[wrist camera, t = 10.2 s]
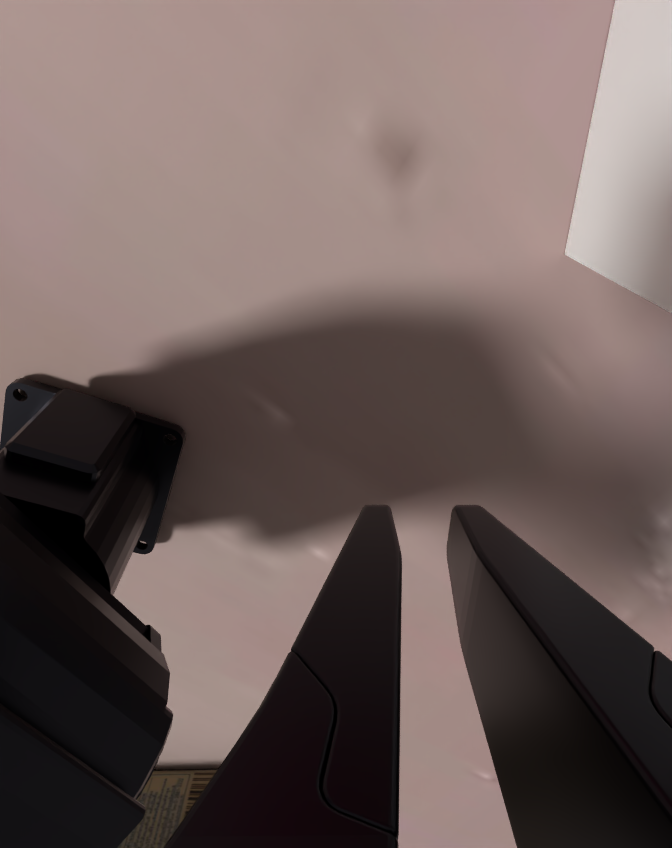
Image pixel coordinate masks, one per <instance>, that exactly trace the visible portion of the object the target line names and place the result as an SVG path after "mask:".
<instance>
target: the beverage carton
mask: <svg viewBox="0 0 672 848" xmlns="http://www.w3.org/2000/svg"><path fill="white" fill-rule="evenodd" d="M216 771H217V770H171V771H153V773H152V775H151V777H150V779H149V781H148V783H147V784H146V786H145V788H144V789H143V791H142V793H141V795H140V796H139V797H138V799H137V801H138V802H140V803H141V804H143V805H144V806H145V809H146V811H145V815H144V817H143V819H142V820H141V822H140V823H139V824H138V825H137V826H136V827H135V828H134V830H133V831H132V832H131V833H130V834H129V835H128V836H127V837H126V838H125V839H124V840H123V842H122V843H121V844H120V845H119V846H118V847H117V848H163V847H164V846H165V844H166V843H167V842H168V840H169V839H170V838H171V836H172V835H173V833H174V832H175V830H176V829H177V828H178V826H179V825H180V823H181V822H182V820H183V819H184V817H185V816H186V815H187V813H188V812H189V810H190V809H191V807H192V806H193V804H194V803H195V802H196V800H197V799H198V797H199V796H200V794H201V793H202V792H203V790H204V789H205V787H206V786H207V784H208V783H209V781H210V780H211V779H212V777H213V776H214V774H215V773H216Z"/></svg>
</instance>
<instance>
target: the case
mask: <svg viewBox="0 0 672 848" xmlns="http://www.w3.org/2000/svg"><path fill="white" fill-rule="evenodd" d="M565 255H566V256H568V257H570V258H572V259H574V260H575V261H577V262H579V263H581V264H583V265H585V266H586V267H588V268H590V269H592V270H594V271H595V272H597V273H599V274H601V275H603V276H604V277H606V278H608V279H610V280H612V281H614V282H615V283H617V284H619V285H621V286H623V287H624V288H626V289H628V290H630V291H632V292H633V293H635V294H637V295H639V296H641V297H643V298H644V299H646V300H648V301H650V302H652V303H653V304H655V305H657V306H659V307H661V308H663V309H664V310H666V311H668V312H670V313H672V0H615V5H614V10H613V15H612V20H611V25H610V30H609V35H608V40H607V45H606V50H605V55H604V60H603V65H602V70H601V75H600V80H599V85H598V90H597V95H596V100H595V105H594V110H593V115H592V120H591V125H590V130H589V135H588V140H587V145H586V150H585V155H584V160H583V165H582V170H581V175H580V180H579V185H578V190H577V195H576V200H575V205H574V210H573V215H572V220H571V225H570V230H569V235H568V240H567V245H566V250H565Z"/></svg>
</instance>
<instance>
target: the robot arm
mask: <svg viewBox="0 0 672 848" xmlns="http://www.w3.org/2000/svg"><path fill="white" fill-rule="evenodd" d="M18 389H22V390H24V391H25V392H26V394H27V397H25V396H23V395H21V394H20V393H19V391H18ZM167 434H172V435H173V436H175V438H176V440H170V439H168V438H167V437H166V435H167ZM184 441H185V432H184V430H183V429H182V428H181V427H180V426H178V425H176V424H173V423H170V422H167V421H163V420H160V419H157V418H154V417H150V416H147V415H144V414H140V413H137V412H134V411H133V410H132V409H131V408H129V407H126V406H122V405H119V404H116V403H113V402H109V401H106V400H103V399H100V398H96V397H93V396H90V395H86V394H83V393H80V392H77V391H73V390H70V389H63V390H62V389H58V388H55V387H52V386H49V385H45V384H42V383H39V382H35V381H32V380H29V379H24V378H20V379H16V380H15V381H14V382H12V383H11V384H10V385H9V386H8V387H7V389H6V393H5V403H4V413H3V423H2V433H1V442H0V848H117V847H118V846H119V845H120V844H121V843H122V842H123V840H124V839H125V838H126V837H127V836H128V835H129V834H130V833H131V832H132V831H133V830H134V828H135V827H136V826H137V825H138V824H139V823H140V822H141V820H142V819H143V817H144V815H145V811H146V809H145V806H144V805H143V804H141V803H140V802H138V801H137V799H138V797H139V796H140V795H141V793H142V791H143V789H144V788H145V786H146V784H147V783H148V781H149V779H150V777H151V775H152V773H153V771H154V768H155V766H156V764H157V761H158V759H159V756H160V754H161V753H162V751H163V748H164V745H165V742H166V740H167V737H168V734H169V731H170V728H171V725H172V719H173V713H172V711H171V710H170V709H169V708H167V707H166V705H167V700H168V689H169V677H170V672H169V669H168V666H167V663H166V660H165V657H164V654H163V653H162V652H161V635H160V634H159V633H158V632H157V631H156V630H155V629H154V628H153V627H152V626H150V625H146V626H145V625H144V624H143V623H142V622H141V621H140V620H139V619H138V618H137V617H136V616H135V615H133V614H132V613H131V612H130V611H129V610H128V609H127V608H126V607H125V606H124V605H123V604H122V603H120V602H119V601H118V600H117V599H116V598H115V597H114V596H113V594H114V592H115V590H116V588H117V586H118V583H119V581H120V579H121V577H122V574H123V572H124V570H125V568H126V566H127V563H128V561H129V559H130V557H131V555H132V552H135V553H139V554H148V553H150V552H151V551H152V550H153V548H154V546H155V543H156V540H157V537H158V533H159V529H160V526H161V522H162V519H163V515H164V512H165V508H166V505H167V501H168V498H169V494H170V491H171V487H172V483H173V480H174V476H175V473H176V469H177V466H178V462H179V459H180V455H181V452H182V448H183V444H184ZM140 541H145V542H146V543H147V544H145V543H141V542H140ZM447 562H448V568H449V574H450V581H451V587H452V594H453V600H454V606H455V613H456V619H457V625H458V632H459V637H460V643H461V648H462V652H463V656H464V660H465V664H466V668H467V671H468V675H469V678H470V682H471V685H472V689H473V692H474V696H475V700H476V703H477V707H478V710H479V714H480V717H481V721H482V724H483V728H484V732H485V735H486V739H487V742H488V746H489V749H490V753H491V756H492V760H493V764H494V767H495V771H496V774H497V778H498V781H499V785H500V788H501V792H502V796H503V799H504V803H505V806H506V810H507V813H508V817H509V820H510V824H511V827H512V831H513V835H514V838H515V842H516V845H517V848H672V661H671V660H670V659H669V658H667V657H666V656H665V655H664V654H662V653H661V652H660V651H655V652H654V647H653V646H652V645H651V644H650V643H649V642H647V641H646V640H645V639H644V638H642V637H641V636H640V635H639V634H637V633H636V632H635V631H634V630H633V629H631V628H630V627H629V626H628V625H626V624H625V623H624V622H623V621H622V620H620V619H619V618H618V617H617V616H615V615H614V614H613V613H612V612H610V611H609V610H608V609H607V608H606V607H604V606H603V605H602V604H601V603H599V602H598V601H597V600H596V599H595V598H593V597H592V596H591V595H590V594H588V593H587V592H586V591H585V590H583V589H582V588H581V587H580V586H579V585H577V584H576V583H575V582H574V581H572V580H571V579H570V578H569V577H567V576H566V575H565V574H564V573H563V572H561V571H560V570H559V569H558V568H556V567H555V566H554V565H553V564H552V563H550V562H549V561H548V560H547V559H545V558H544V557H543V556H542V555H540V554H539V553H538V552H537V551H536V550H534V549H533V548H532V547H531V546H529V545H528V544H527V543H526V542H524V541H523V540H522V539H521V538H520V537H518V536H517V535H516V534H515V533H513V532H512V531H511V530H510V529H509V528H507V527H506V526H505V525H504V524H502V523H501V522H500V521H499V520H497V519H496V518H495V517H494V516H493V515H491V514H490V513H489V512H488V511H486V510H485V509H484V508H483V507H481V506H479V505H456V506H455V507H454V508H453V509H452V513H451V520H450V527H449V534H448V541H447ZM401 593H402V558H401V551H400V546H399V541H398V537H397V533H396V529H395V524H394V520H393V516H392V512H391V508H390V507H389V506H388V505H365V506H364V507H363V509H362V510H361V512H360V514H359V516H358V518H357V520H356V522H355V524H354V526H353V528H352V530H351V532H350V534H349V536H348V538H347V540H346V542H345V544H344V546H343V548H342V550H341V552H340V554H339V556H338V558H337V560H336V562H335V563H334V565H333V567H332V569H331V571H330V573H329V575H328V577H327V579H326V581H325V583H324V585H323V587H322V589H321V591H320V593H319V595H318V597H317V599H316V601H315V603H314V605H313V607H312V609H311V611H310V613H309V615H308V617H307V619H306V621H305V622H304V624H303V626H302V628H301V630H300V632H299V634H298V636H297V638H296V640H295V642H294V644H293V646H292V648H291V652H290V653H288V655H287V657H286V659H285V661H284V663H283V665H282V667H281V669H280V671H279V673H278V675H277V677H276V678H275V680H274V682H273V684H272V686H271V687H270V689H269V691H268V693H267V695H266V696H265V698H264V700H263V702H262V704H261V705H260V707H259V709H258V710H257V712H256V713H255V715H254V716H253V718H252V719H251V721H250V722H249V724H248V726H247V727H246V729H245V730H244V732H243V733H242V735H241V736H240V738H239V739H238V741H237V742H236V744H235V745H234V747H233V748H232V750H231V751H230V753H229V754H228V755H227V757H226V758H225V760H224V761H223V763H222V764H221V766H220V767H219V768H218V770H217V771H216V773H215V774H214V776H213V777H212V779H211V780H210V781H209V783H208V784H207V786H206V787H205V789H204V790H203V792H202V793H201V794H200V796H199V797H198V799H197V800H196V802H195V803H194V804H193V806H192V807H191V809H190V810H189V812H188V813H187V815H186V816H185V817H184V819H183V820H182V822H181V823H180V825H179V826H178V828H177V829H176V830H175V832H174V833H173V835H172V836H171V838H170V839H169V840H168V842H167V843H166V844H165V846H164V847H163V848H398V835H399V756H400V674H401Z"/></svg>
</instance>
